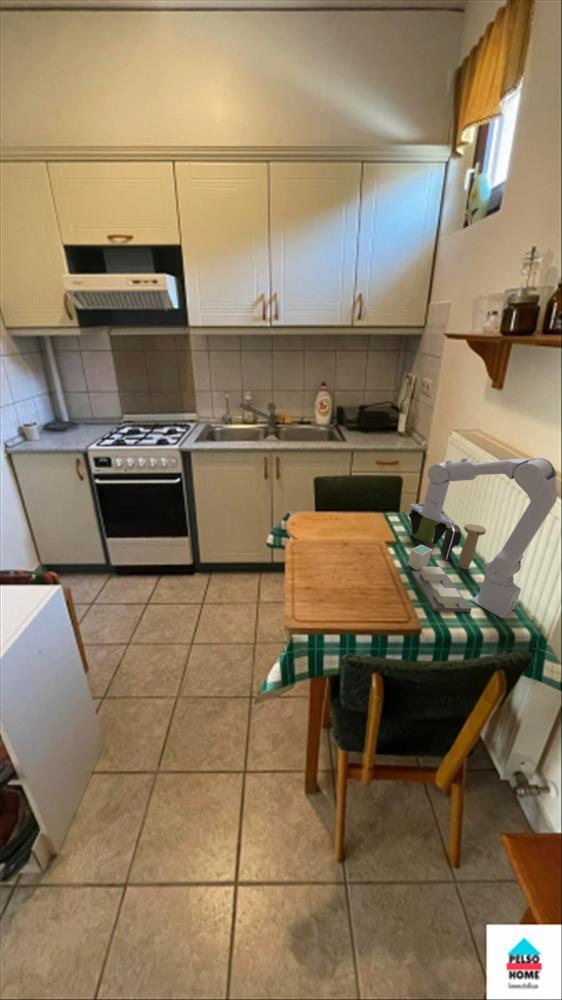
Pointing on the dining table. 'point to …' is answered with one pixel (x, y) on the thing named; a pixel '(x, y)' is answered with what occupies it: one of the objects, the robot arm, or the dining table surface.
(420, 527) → the plant pot
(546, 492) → the robot arm
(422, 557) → the module
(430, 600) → the board
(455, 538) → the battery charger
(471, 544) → the handle
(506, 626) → the dining table surface
